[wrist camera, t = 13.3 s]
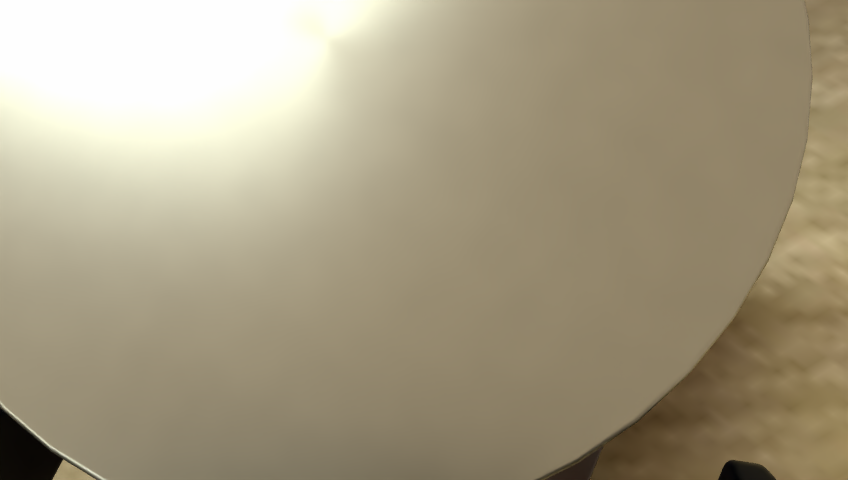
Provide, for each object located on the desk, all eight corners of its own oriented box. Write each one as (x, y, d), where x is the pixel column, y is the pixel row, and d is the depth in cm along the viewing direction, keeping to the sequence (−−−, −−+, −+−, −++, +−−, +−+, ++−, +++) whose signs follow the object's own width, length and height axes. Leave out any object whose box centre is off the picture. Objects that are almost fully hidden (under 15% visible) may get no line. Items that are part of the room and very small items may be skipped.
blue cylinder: (556, 453, 16) (813, 634, 3) (303, 414, 17) (-247, 444, 4) (591, 75, 18) (819, -647, 6) (368, 57, 19) (140, -613, 7)
